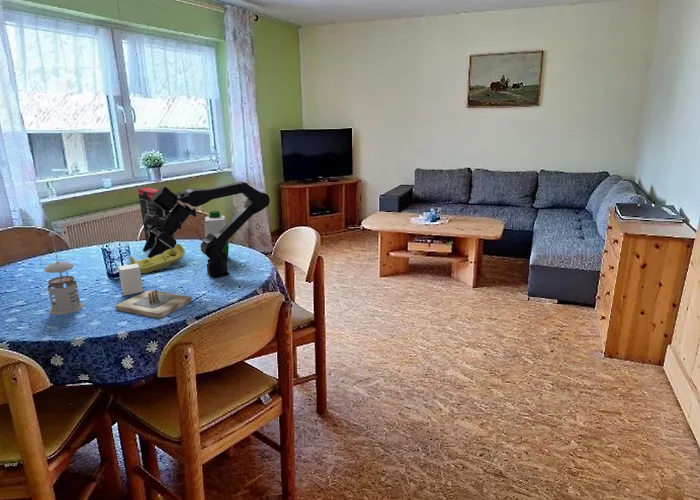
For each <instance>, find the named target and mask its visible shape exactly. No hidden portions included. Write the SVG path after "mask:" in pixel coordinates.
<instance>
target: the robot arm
mask: <svg viewBox="0 0 700 500" xmlns="http://www.w3.org/2000/svg"><path fill="white" fill-rule="evenodd" d="M158 190H159V191H158V192H156V193H155V194H154V195H153V197H152V199H151V201H152V202H153V203H155V204H156V205H157V206H159V207H160V208H161V209H163V210H164V211H167V210H169V211H170V213H169V214H170V215H169V214H168V215H167V216H166V215H165V216H163V217H162V218H160V217H159V216H158V215H155V214H154V215H151V214H147V213H146V214H145V217H144V220H143V219H142V223H143V222H144V223H145V224H147V225H150V226H149V227H148V228H149V229H150V230H149V229H148V232H149V237H148V240H147V242H146V241H145V244H144V247H143V248H142V251H143V252H144V253H146V252H148V251H149V250H150V251H149V252H148V254H147V258H152V257H154V256H157V255H160V254H163V253H162V252H164V251H166V250H168V249H171V247H172V248H174V247H175V246H176V245H177V244H178V243H177V240H176V239H175V236H174V235H175V233H177V231H178V230H182V225H183V224H184V222H186V221H187V219H188V218H189V216H190V215H191V216H193V217H194V218H197V207H200V206H202V205H205V204H207V203H209V202H210V201H213V200H215V199H220V198H226V197H229V196H235V195H239V194H242V195H243V196H245V197H246V198H247V199H246V201H245V203H244V206H243V207H242V208H241V209H240V210H239V211H238V212H237V213H236V214H235V215H234V216H232V218H231V219H230V220H229V221H228V222H226V225H225V226H224V227H223V228H222V229H221V230H220V231H219V232H218V233H216V234H214V235H213V234H211V233H209V234H208V236H207V237H206V236H205V238H204V239H202V240H201V241H202V242H201V244H200V251H201V252H202V253H203V254H204V255H205V256H206V257H207V258H208V259H207V263H206V270H207V271H206V272H207V274H206V275H207V276H209V277H211V278H213V279H217V278H221V277H225V276H230V272H228V270H229V269H228V261H227V257H228V258H229V254H228V255H227V254H225V253H224V252H222V250H223V249H224V247H225V245H226V242H227V241H228V242H229V240H230V239H231V237H233V236H234V235H235V233H237V232H238V231H239V230H240V228H241V227H243V226H244V224H245V223H247V222H248V221H249V220H250V218H252V216H254V215H255V214H257V213H259V212H262V211H263V210H265V209H266V208H267V207H268V206H269V205H270V203H271V200H270V196H269V194H267V193H266V192H264V191H263V192H262V191H259V190H257V189H256V188H254V187H252V186H250V185H249V184H248V183H247V182H245V181H241V180H240V181H238V182H233V183H229V184H225V185H219V186H214V187H209V188H198V187H197V188H188V189H186V190H185V191H184V192H182V193H178V194H175V193H173V192H172V191H171V190H170V189H169V188H168V187H167V186H165V185H163V186H162V188H160V189H158ZM178 201H179V202H178ZM180 202H181V203H182V204H181V203H180ZM190 206H191V207H195V208H191V207H190ZM209 258H210V259H209Z"/></svg>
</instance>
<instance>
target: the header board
mask: <svg viewBox="0 0 700 500" xmlns="http://www.w3.org/2000/svg"><path fill="white" fill-rule="evenodd" d="M192 302H193V299H192V297H191V296H185V295H181V294H174V293H169V292H164V291H163V292H162V291H159V290H158V289H154V290H153V289H149V290H147V291H143V292H141V293H140V294H137V295H135V296H133V297H131V298H128V299H126V300H124V301H122V302H119V303H117V304H115V305H114V307H115V310H117V311H120V312H121V311H122V312H126V313H131V314H135V315H141V316H146V317H151V318H156V319H161V318H163V317H165V316H166V315H168V314H171V313H172V312H174V311H177V310H178V309H180V308H182V307H185V306H186V305H188V304H190V303H192Z"/></svg>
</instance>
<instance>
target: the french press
mask: <svg viewBox="0 0 700 500" xmlns="http://www.w3.org/2000/svg"><path fill="white" fill-rule="evenodd" d="M47 236H48V237H51V238H52V243H53V247H54V254H55V258H56V262H52V263H49V264H48V265H47V266H46V267H44V268H43V271H44V272H45V273H49V274H53V273H59V276H57V277H53V278H51V279H49V280H48V281H47V283H48V285H47V291H48V295H49V296H48V297H49V299H50V305H51V308H50V309H49V311H48V314H51V315H55V316H56V315H57V316H59V315H67V314H71V313H75V312H77V311H79V310H82V309H83V308H84V307H85V304H84V303H83V302H81V300H80V299H81V298H80V294H79V288H78V284H77V281H76V280H75V276H72V275H69V274H68V273H69V272H68V271H70V270H72V269H73V268H74V264H73V263H71V262H67V261H59V260H58V255H57V250H56V245H55V242H54V241H55V240H54V237H56V236H57V234H56V232H54V231H50V232H49V233H48V235H47ZM65 272H66V275H63V274H62V273H65ZM64 285H66V286H64ZM52 296H53V297H52Z"/></svg>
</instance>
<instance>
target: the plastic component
mask: <svg viewBox="0 0 700 500" xmlns="http://www.w3.org/2000/svg"><path fill="white" fill-rule="evenodd" d="M185 253H186V250H185V248H184V247H183V246H182V244H181V243H177V244H176V245H175V247H174V248H171V249H168V250H166V251H164V252H163V253H160V254H158V255H156V256H154V257H152V258H149V257H147V258H143V259H139V260H136V259H135V258H134V256H130V257H129V260H130V261H131V264H136V263H137V264H138V265H139V267H140V273H141V274H147V273H151V272H153V271H157V270H161V269H165V268H167V267H170V264H176V263H177V262H178V261H179V260H181V259H182V258H183V257H184V256H185ZM130 261H129V262H130Z"/></svg>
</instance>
